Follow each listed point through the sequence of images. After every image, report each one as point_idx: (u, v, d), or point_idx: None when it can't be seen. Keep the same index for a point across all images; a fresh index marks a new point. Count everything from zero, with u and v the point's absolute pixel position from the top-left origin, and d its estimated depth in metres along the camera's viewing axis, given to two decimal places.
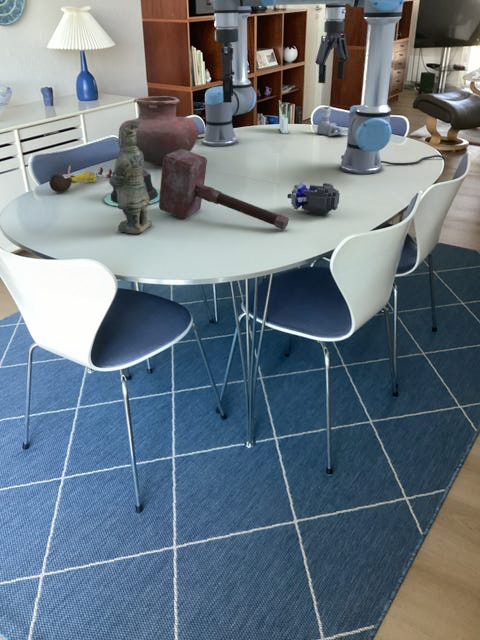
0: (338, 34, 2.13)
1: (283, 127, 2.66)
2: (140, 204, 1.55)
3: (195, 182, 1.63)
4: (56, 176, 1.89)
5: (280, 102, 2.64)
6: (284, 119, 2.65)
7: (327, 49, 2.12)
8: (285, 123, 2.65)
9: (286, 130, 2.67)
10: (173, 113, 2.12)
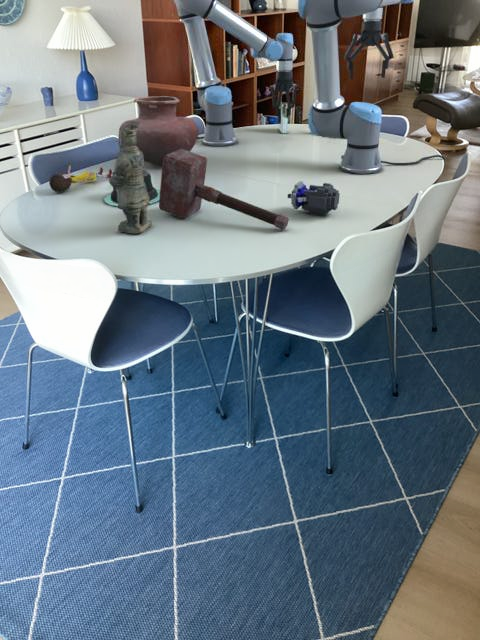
0: None
1: (282, 127, 2.66)
2: (140, 204, 1.55)
3: (195, 182, 1.63)
4: (56, 176, 1.89)
5: (280, 102, 2.64)
6: (284, 119, 2.65)
7: (289, 95, 2.64)
8: (285, 123, 2.65)
9: (285, 130, 2.67)
10: (173, 113, 2.12)
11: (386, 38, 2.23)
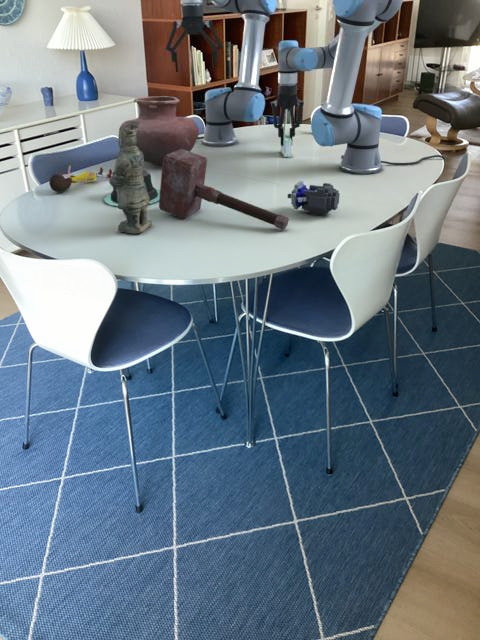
0: None
1: (285, 150, 2.27)
2: (140, 204, 1.55)
3: (195, 182, 1.63)
4: (56, 176, 1.89)
5: (283, 121, 2.25)
6: (287, 141, 2.25)
7: (206, 35, 1.98)
8: (288, 145, 2.26)
9: (289, 153, 2.28)
10: (173, 113, 2.12)
11: (300, 106, 2.22)
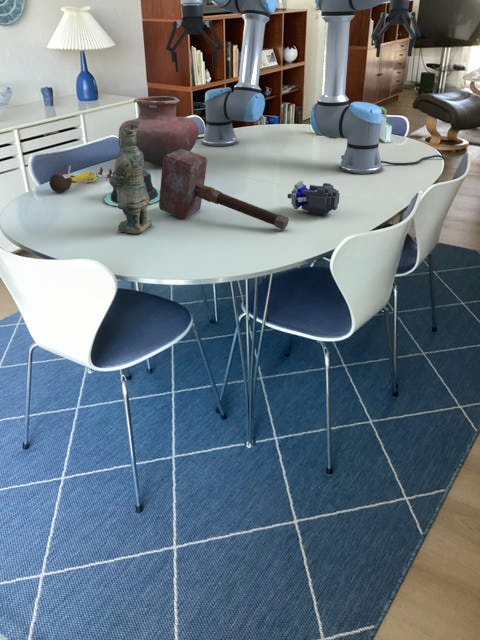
0: None
1: (386, 136, 2.46)
2: (140, 204, 1.55)
3: (195, 182, 1.63)
4: (56, 176, 1.89)
5: (383, 109, 2.44)
6: (388, 127, 2.44)
7: (206, 35, 1.98)
8: (388, 131, 2.45)
9: (389, 139, 2.47)
10: (173, 113, 2.12)
11: (413, 16, 2.26)
